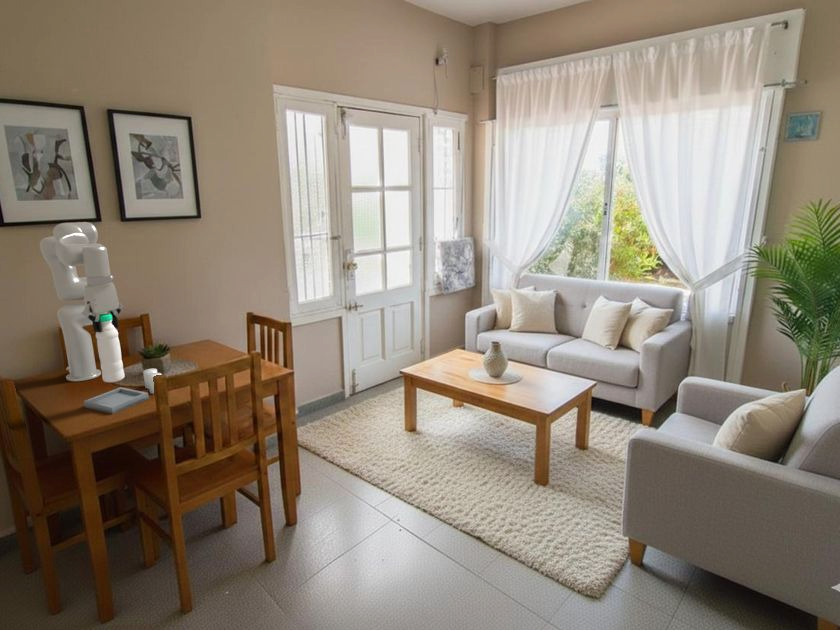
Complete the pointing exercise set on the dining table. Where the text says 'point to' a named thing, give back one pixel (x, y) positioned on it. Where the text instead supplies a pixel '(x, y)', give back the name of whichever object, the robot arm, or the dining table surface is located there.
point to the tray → (116, 400)
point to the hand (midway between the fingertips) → (106, 329)
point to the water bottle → (109, 350)
